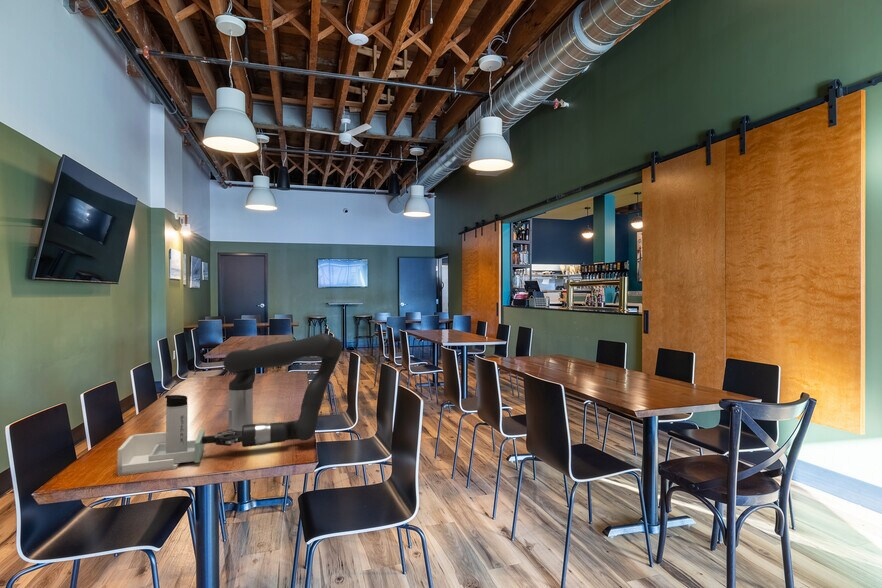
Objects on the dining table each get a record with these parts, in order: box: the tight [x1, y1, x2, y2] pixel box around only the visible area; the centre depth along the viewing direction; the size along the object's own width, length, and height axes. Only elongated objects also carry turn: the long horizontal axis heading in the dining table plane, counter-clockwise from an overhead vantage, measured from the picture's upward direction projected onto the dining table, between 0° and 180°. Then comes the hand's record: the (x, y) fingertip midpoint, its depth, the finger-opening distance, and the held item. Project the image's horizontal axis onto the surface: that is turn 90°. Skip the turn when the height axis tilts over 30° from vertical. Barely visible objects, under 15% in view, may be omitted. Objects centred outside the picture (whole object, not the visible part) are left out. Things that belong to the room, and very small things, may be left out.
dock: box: [116, 431, 180, 477], centre depth 155 cm, size 16×17×8 cm
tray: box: [149, 429, 206, 464], centre depth 157 cm, size 15×17×6 cm
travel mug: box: [164, 394, 189, 454], centre depth 157 cm, size 6×7×20 cm
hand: (202, 440), depth 160 cm, fingers closed
